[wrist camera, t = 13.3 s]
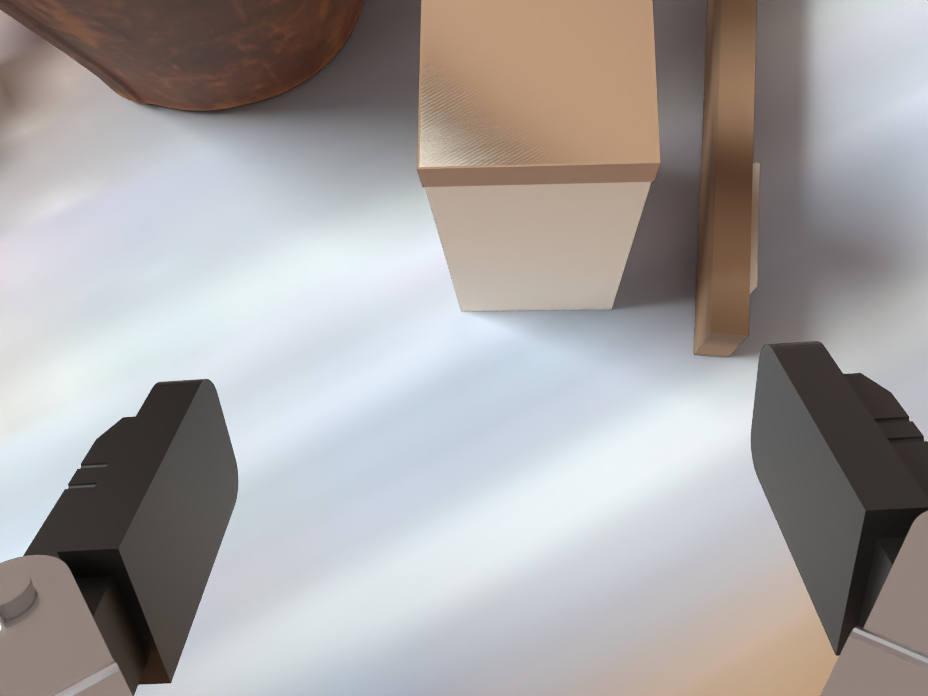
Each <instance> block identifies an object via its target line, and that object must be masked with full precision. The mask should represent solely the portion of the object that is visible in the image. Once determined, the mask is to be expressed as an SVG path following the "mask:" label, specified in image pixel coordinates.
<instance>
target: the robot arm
mask: <svg viewBox="0 0 928 696" xmlns="http://www.w3.org/2000/svg"><path fill="white" fill-rule="evenodd" d="M923 437H924V436H923V435H922V433H921V432H920V431H919V429H918V428H917V427H916V425H915V424H914V423H913V421H911V422H910V421H909V416H908V415H907V413H906V412H905V411H904V409H903V408H902V407H901V405H900V404H899V403H898V401H897V400H896V399H895V397H894V396H893V395H892V393H891V392H889V391H888V390H886V389H885V388H883V387H881V386H880V385H878V384H877V383H875V382H874V381H872V380H871V379H869V378H867V377H866V376H864V375H863V374H861V373H855V374H843V373H842V372H841V370H840V369H839V367H838V366H837V364H836V363H835V361H834V360H833V358H832V357H831V355H830V354H829V352H828V351H827V350H826V348H825V347H824V345H823V344H822V343H821V342H818V341H812V342H797V343H781V344H767V345H764V346H763V348H762V350H761V352H760V357H759V364H758V373H757V382H756V391H755V400H754V410H753V419H752V428H751V451H752V458H753V464H754V468H755V471H756V474H757V477H758V479H759V481H760V484H761V486H762V488H763V491H764V493H765V495H766V497H767V500H768V502H769V504H770V507H771V509H772V511H773V513H774V516H775V518H776V520H777V522H778V525H779V527H780V529H781V532H782V534H783V536H784V538H785V541H786V543H787V545H788V548H789V550H790V552H791V554H792V557H793V559H794V561H795V564H796V566H797V568H798V570H799V573H800V575H801V577H802V579H803V582H804V584H805V586H806V589H807V591H808V593H809V595H810V598H811V600H812V602H813V605H814V607H815V609H816V611H817V614H818V616H819V618H820V620H821V623H822V625H823V627H824V630H825V632H826V634H827V636H828V639H829V641H830V643H831V646H832V648H833V650H834V652H835V655H840V656H839V658H838V660H837V662H836V664H835V666H834V668H833V670H832V672H831V675H830V677H829V679H828V681H827V683H826V685H825V687H824V689H823V691H822V693H821V695H820V696H928V442H927V441H925V442H924V438H923ZM68 485H69V488H68V489H65V490H64V492H63V493H62V495H61V497H60V498H59V500H58V501H57V503H56V505H55V506H54V508H53V509H52V511H51V512H50V514H49V516H48V517H47V519H46V520H45V522H44V524H43V525H42V527H41V528H40V530H39V532H38V533H37V535H36V536H35V538H34V540H33V541H32V543H31V544H30V546H29V548H28V549H27V551H26V552H25V554H24V556H23V557H18V558H14V559H11V560H8V561H5V562H2V563H0V696H134V694H135V691H136V689H137V686H138V685H140V684H162V683H171V681H172V679H173V676H174V673H175V670H176V667H177V665H178V662H179V659H180V656H181V654H182V651H183V648H184V645H185V642H186V640H187V637H188V634H189V631H190V628H191V626H192V623H193V620H194V617H195V615H196V612H197V609H198V606H199V603H200V601H201V598H202V595H203V592H204V589H205V587H206V584H207V581H208V578H209V576H210V573H211V570H212V567H213V564H214V562H215V559H216V556H217V553H218V550H219V548H220V545H221V542H222V539H223V537H224V534H225V531H226V528H227V525H228V523H229V520H230V517H231V514H232V511H233V509H234V506H235V503H236V499H237V493H238V470H237V463H236V459H235V455H234V452H233V448H232V444H231V441H230V437H229V434H228V430H227V426H226V423H225V419H224V415H223V412H222V408H221V405H220V401H219V397H218V394H217V391H216V388H215V386H214V384H213V383H212V382H211V381H210V380H209V379H199V380H184V381H168V382H158V383H156V384H155V385H154V387H153V388H152V390H151V391H150V393H149V395H148V397H147V398H146V400H145V402H144V403H143V405H142V407H141V409H140V410H139V412H138V414H137V415H136V417H123V418H122V419H121V420H120V421H118V422H117V423H116V424H115V425H113V426H112V427H111V428H110V429H109V430H107V431H106V432H105V433H104V434H102V435H101V436H100V437H99V438H98V439H96V441H95V442H94V444H93V445H92V447H91V449H90V450H89V452H88V453H87V455H86V457H85V458H84V460H83V461H82V463H81V469H77V471H76V473H75V474H74V476H73V477H72V479H71V481H70V482H69V484H68Z"/></svg>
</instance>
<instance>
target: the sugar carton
mask: <svg viewBox="0 0 928 696" xmlns="http://www.w3.org/2000/svg"><path fill="white" fill-rule="evenodd" d="M659 166H660V144H659V123H658V103H657V82H656V62H655V41H654V21H653V0H421V34H420V74H419V115H418V155H417V170H418V174H419V177H420V180H421V184H422V187H425V189H426V192H427V195H428V199H429V202H430V206H431V209H432V213H433V216H434V220H435V223H436V227H437V230H438V234H439V237H440V241H441V244H442V247H443V251H444V254H445V258H446V261H447V265H448V268H449V272H450V275H451V279H452V282H453V286H454V289H455V292H456V296H457V299H458V303H459V306H460V310H461V311H524V310H604V309H612V307H613V303H614V300H615V297H616V294H617V291H618V287H619V284H620V281H621V278H622V275H623V271H624V268H625V265H626V262H627V259H628V255H629V252H630V249H631V246H632V243H633V240H634V236H635V233H636V230H637V227H638V224H639V220H640V217H641V214H642V211H643V208H644V204H645V201H646V198H647V195H648V192H649V189H650V185H651V182H654V181H655V178H656V175H657V172H658V169H659Z"/></svg>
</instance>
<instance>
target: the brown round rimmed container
mask: <svg viewBox="0 0 928 696" xmlns="http://www.w3.org/2000/svg"><path fill="white" fill-rule="evenodd" d="M363 1H364V0H0V10H2V11H3V12H5V13H6V14H8V15H9V16H11V17H12V18H14V19H15V20H17V21H18V22H20V23H21V24H22V25H24V26H25V27H27V28H28V29H30V30H31V31H33V32H34V33H36V34H37V35H39V36H40V37H42V38H43V39H45V40H46V41H48V42H49V43H51V44H52V45H54V46H55V47H57V48H58V49H60V50H61V51H63V52H64V53H66V54H67V55H68V56H70V57H71V58H73V59H74V60H75V61H77V62H78V63H80V64H81V65H82V66H84V67H85V68H87V69H88V70H89V71H91V72H92V73H94V74H95V75H96V76H98V77H99V78H100V79H101V80H102V81H103V82H104V83H105V84H107V85H108V86H109V87H110V88H111V89H112V90H113V91H115V92H116V93H117V94H119V95H120V96H122V97H124V98H126V99H129V100H132V101H135V102H137V103H141V104H143V103H149V104H154V105H158V106H163V107H168V108H174V109H179V110H196V111H207V110H220V109H227V108H233V107H238V106H242V105H247V104H251V103H255V102H259V101H262V100H265V99H268V98H271V97H274V96H277V95H279V94H282V93H284V92H286V91H289V90H291V89H293V88H294V87H296V86H298V85H300V84H301V83H303V82H304V81H306V80H307V79H309V78H310V77H312V76H313V75H314V74H316V73H317V72H318V71H320V70H321V69H322V68H323V67H324V66H325V65H326V64H327V63H328V62H329V61H330V60H331V59H332V58H333V57H334V56H335V55H336V54H337V53H338V52H339V50H340V49H341V48H342V47H343V45H344V44H345V42H346V41H347V39H348V38H349V36H350V34H351V32H352V30H353V28H354V26H355V24H356V21H357V19H358V16H359V13H360V11H361V8H362V5H363Z"/></svg>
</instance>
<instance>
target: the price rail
mask: <svg viewBox="0 0 928 696" xmlns="http://www.w3.org/2000/svg"><path fill="white" fill-rule="evenodd" d="M756 14H757V0H708V4H707V29H706V54H705V80H704V105H703V130H702V156H701V181H700V206H699V232H698V257H697V282H696V308H695V333H694V355H706V356H719V357H729V356H730V355H731V354H732V353H733V352H734V351H735V350H736V348H737V347H738V346H739V345H740V344H741V343H742V342H743V341H744V340H745V339H746V338H747V337H748V336H749V302H750V294H751V293H752V292H753V290H754V289H755V288H756V287H757V268H758V223H759V178H760V163H753V138H754V96H755V55H756Z"/></svg>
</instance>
